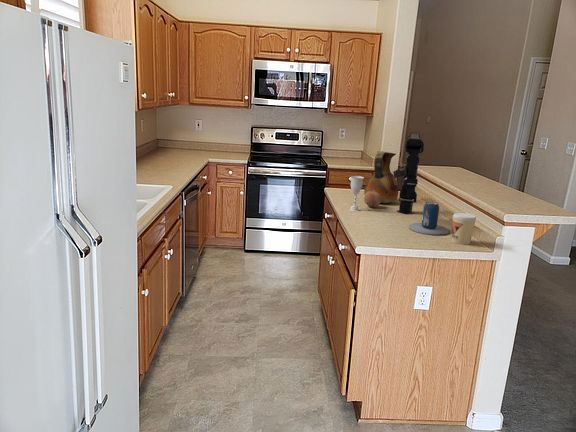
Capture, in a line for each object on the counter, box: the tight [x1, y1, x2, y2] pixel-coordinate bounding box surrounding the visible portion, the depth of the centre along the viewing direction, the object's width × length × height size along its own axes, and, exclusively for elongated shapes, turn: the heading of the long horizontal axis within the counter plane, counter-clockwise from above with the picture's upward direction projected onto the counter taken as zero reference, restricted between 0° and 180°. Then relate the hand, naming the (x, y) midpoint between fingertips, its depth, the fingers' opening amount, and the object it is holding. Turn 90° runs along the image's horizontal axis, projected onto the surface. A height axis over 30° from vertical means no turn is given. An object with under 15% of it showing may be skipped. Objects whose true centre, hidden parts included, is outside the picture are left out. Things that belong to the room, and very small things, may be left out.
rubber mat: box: [408, 222, 450, 236], centre depth 217 cm, size 18×18×1 cm
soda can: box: [421, 201, 440, 230], centre depth 216 cm, size 7×7×12 cm
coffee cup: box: [451, 212, 477, 246], centre depth 199 cm, size 9×9×12 cm
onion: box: [363, 190, 382, 208], centre depth 257 cm, size 10×9×10 cm
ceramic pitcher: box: [363, 151, 400, 204], centre depth 271 cm, size 20×20×30 cm
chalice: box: [349, 175, 365, 212], centre depth 248 cm, size 7×7×18 cm
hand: (408, 195), depth 228 cm, fingers open, 9 cm apart
